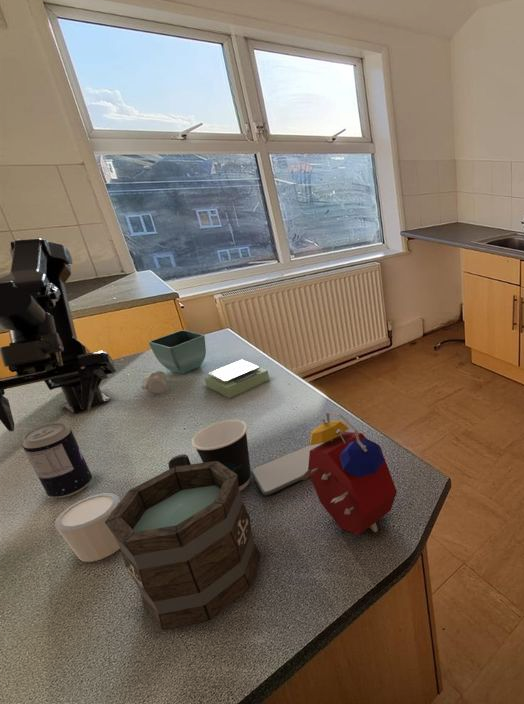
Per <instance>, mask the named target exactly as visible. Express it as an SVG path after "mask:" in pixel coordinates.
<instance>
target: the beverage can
mask: <svg viewBox="0 0 524 704" xmlns="http://www.w3.org/2000/svg"><path fill="white" fill-rule="evenodd" d="M22 441H23V444H22V448H23V450H24V452H25V454H26V456H27V458H28V461H29V462H30V464H31V467H32V468H33V469H34V471H35V474H36V476H37V477H38V479H39V482H40V484H41V485H42V487H43V489H44V491H45V493H46V495H47V496H48V497H52V498H60V499H61V498H68V497H70V496H71V497H72V496H74V495H76V494H78V493H80V492H82V491H83V490H84V489H85V488H86V487H87V486H88V484H89V483H90V482H91V480H92V479H93V475H92V473H91V470H90V469H89V466H88V464H87V461H86V459H85V457H84V455H83V453H82V450H81V448H80V446H79V444H78V441H77V439H76V437H75V435H74V432H73V430H72V429H71V428H70V427H67V425H66V424H65V423H62V422H54V423H49V424H45V425H41V426H39V427H36V428H33V429H32V430H29V432H27V433H26V434H24V436H23V437H22Z"/></svg>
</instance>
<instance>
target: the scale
mask: <svg viewBox="0 0 524 704" xmlns="http://www.w3.org/2000/svg"><path fill="white" fill-rule="evenodd" d="M259 367H260V369H258V370H256V371H254V372H251V373H249V374H247V375H244V376H242V377H240V378H237V379H235V380H233V381H230V382H228V383H224V382H222V381H220V380H218V379H216V378H214V377H211V376H209V375H205V376H203V378H204V381H205V385H206V387H207V388H209V389H211V390H212V391H214V392H217V393H219V394H220V395H223V396H224V397H227V398H229V399H230V398H233V397H235V396H237V395H239V394H242V393H244V392H246V391H248V390H251V389H253V388H254V387H257V386H259V385H261V384H264V383H266V382H268V381H270V375H269V372H268V370H267V369H265V368H263V367H261V366H259Z"/></svg>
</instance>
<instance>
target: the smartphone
mask: <svg viewBox="0 0 524 704" xmlns="http://www.w3.org/2000/svg"><path fill="white" fill-rule="evenodd" d="M321 444H323V443H321ZM321 444H316V445H310V444H308V445H305V446H302V447H301V448H298V449H295V450H293V451H291V452H289V453H286V454H283V455H281V456H278V457H277V458H274V459H272V460H270V461H267V462H265V463H262V464H260V465H258V466H255V467H253V468H252V469H250V470H251V476H252V477H253V479H254V481H255V482H256V484H257V486H258V488H259V490H260V491H261V493H262V495H264V496H269V495H273V494H274V493H276V492H279V491H280V490H283V489H284V488H287V487H289V486H291V485H293V484H295V483H298V482H300V481H303V480H302V479H303V478H304V477H305V476H303V475H304V474H305V473H306V472H307V471H308V465H309V454H310V450H312V449H314V448H315V447H317V446H319V445H321Z"/></svg>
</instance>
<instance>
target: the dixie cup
mask: <svg viewBox="0 0 524 704" xmlns="http://www.w3.org/2000/svg"><path fill="white" fill-rule="evenodd" d="M247 431H248V425H247V423H246V422H245V421H242V420H239V419H227V420H222V421H217V422H214V423H212V424H210V425H207V426H205V427H204V428H202V429H200V430H198V431H197V432H196V433H195V434H194V435H193V437H192V438H191V446H192V447H193V448H194V449H195V450H196V452H197V454H198V455H199V458H200V460H201V461H202V463H205V462H213V461H218V462H220V463H221V464H223V465H224V466H226V467H227V468H228V469H230V470H231V471H233V472H234V473H236V474H237V475H238V483H239V491H240V492H241V491H242V490H244V489H246V488H247V486H249V484H250V483H251V482H250V481H251V476H252V474H251V470H252V469H251V463H250V453H249V445H248V436H247Z"/></svg>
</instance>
